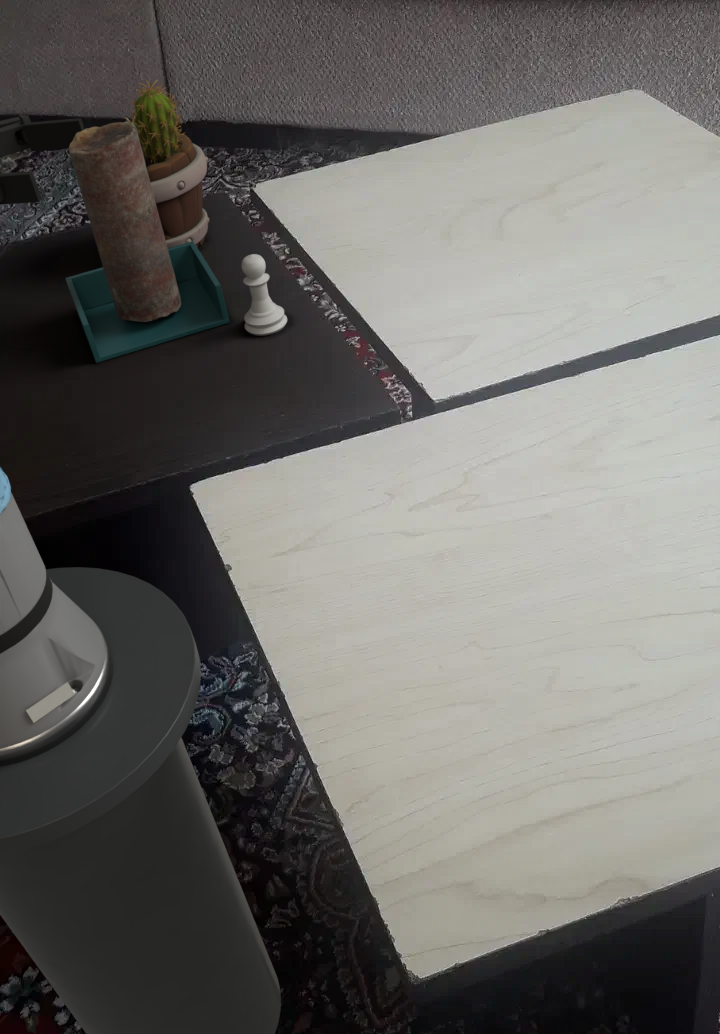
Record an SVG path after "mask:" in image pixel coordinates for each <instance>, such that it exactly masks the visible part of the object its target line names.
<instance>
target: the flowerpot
mask: <svg viewBox="0 0 720 1034" xmlns="http://www.w3.org/2000/svg"><path fill="white" fill-rule="evenodd" d="M150 79H151V74H149V77H148V80H147V79H146V80H145V81H146V85H145V84H144V83H140V82H139V83H138V82H137V84H138V86H139V89H137V88H136V89H134V90H136V92H137V93H138V94H137V95H138V98H136V99H134V98H132V102H130V105H129V106H130V107H129V108H130V109H131V110H129V112H130V113H131V114H129V117H130V119H129V118H128V117H125V116H124V117H122V119H126V120H125V122H132V123H133V124H134V125H135V127H136V129H137V132H138V137H139V141H140V144H141V148H142V152H143V156H144V160H145V164H146V168H147V172H148V175H149V179H150V183H151V187H152V191H153V194H154V199H155V202H156V206H157V210H158V214H159V217H160V221H161V225H162V229H163V232H164V236H165V241H166V244H167V248H171V247H175V246H178V245H182V244H185V243H188V242H192V241H193V242H194V243H195V245H196V246H197V248H198V249H199V247H200V246H202V245H203V244H204V241H205V237H206V235H207V233H208V230H209V229H208V228H209V223H210V218H209V216H208V213H207V211H206V210H205V209H204V208H203V195H204V194H203V180H204V178H205V177H206V174H207V172H208V161H209V157H208V156H206V155H205V152H204V151H203V150H202V148H201V147H200V146H198V145H197V144H195V143H193V142H192V140H191V138H190V137H188V135H186V134H187V132H185V131H184V132H183V133H181V132H182V131H183V130H182V129H183V128H182V125H183V123H182V120H183V119H184V116H181V115H180V111H181V110H180V109H179V107H178V106H177V105H178V104H179V103H180V101H176V100H173V99H174V97H176V94H174V95H173V97H171V96H172V93H171V92H170V93H168V92H166V91H164V90H165V89H167V87H163V88H162V86H163V83H160V85H158V84H159V82H158V81H159V79H156V80H155V81H154V82H152V84H150V81H151V80H150ZM141 85H142V86H141ZM132 106H133V107H132ZM176 109H177V110H176ZM132 110H134V111H132ZM181 118H182V119H181ZM179 124H180V125H179ZM179 128H180V129H179ZM185 133H186V134H185Z"/></svg>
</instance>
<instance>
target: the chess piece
mask: <svg viewBox="0 0 720 1034" xmlns="http://www.w3.org/2000/svg"><path fill="white" fill-rule="evenodd" d="M266 268H267V265H266V261H265V259H264V258H263V256H261V255H260V254H257V253H252V254H248V255H246V256H245V257H244V258H243V259H242V261H241V270H242V273H243V274H244V275H245V277H244V278H243V280H242V282H243V284H245V285H246V286H247V287H248V289H249V293H250V296H251V305H250V308H249V310H248V311H247V312H246V313H245V314H244V316H243V320H244V322H245V323H244V329H245V330H246V331H247V332H248V333H249V334H250V335H253V336H258V337H261V336H263V337H264V336H269V335H270V336H271V335H273V334H276V333H278V332H280V331H281V330H283V329H284V328H285V327H286V324H287V322H288V317H287V315H286V314H285V309H284V308H283V307H282V306H280V305H277V304H276V302H273V300H272V298H271V297H270V294H269V290H268V284H267V283H268V281H269V280H270V275H269V273H267V272H266Z"/></svg>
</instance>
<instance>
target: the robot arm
mask: <svg viewBox="0 0 720 1034" xmlns="http://www.w3.org/2000/svg"><path fill="white" fill-rule="evenodd" d="M17 115H18V116H16V117H11V118H8V119H7V118H6V119H3V120H0V158H3V157H6V156H11V155H12V154H15V153H19V152H21V151H25V150H28V149H29V150H30V151H31V152H41V151H42V152H43V151H44V152H45V151H54V150H67V149H68V150H69V145H70V144H71V142H72V141H73V139H74V137H75V135H76V133H78V132H80V131H82V130H85V129H86V128H85V126H84V123H83V120H82V117H78V118H76V117H75V118H66V119H55V120H42V121H31V119H30V116H29V115H28V114H26V113H24V112H23V113H18V114H17ZM42 198H43V197H42V195H41V192H40V190H39V187H38V184H37V181H36V177H35V175H34V172H33V170H30V171H16V172H4V173H3V172H2V173H0V206H2V205H16V204H30V203H40V201H41V200H42ZM28 528H29V527H28V526H27V523H26V522H25V519H24V517H23V515H22V512H21V510H20V508H19V507H18V504H17V502H16V499H15V498H14V495H13V493H12V486H11V483H10V480H9V477H8V475H7V474H6V473H5V472H4V470H3V468H2V466H0V766H5V765H10V764H14V763H18V762H21V761H24V760H27V759H30V758H32V757H35V756H37V755H40V754H42V753H44V752H46V751H48V750H50V749H52V748H53V747H55V746H57V745H59V744H60V743H62V742H63V741H65V740H66V739H68V738H69V737H70V736H72V735H73V734H74V733H75V732H77V731H78V730H79V729H80V728H81V727H82V726H83V725H84V724H85V723H86V722H87V721H88V720H89V719H90V718H91V717H92V716H93V715H94V713H95V712H96V711H97V709H98V708H99V707H100V705H101V704H102V702H103V700H104V698H105V697H106V694H107V692H108V690H109V687H110V684H111V681H112V676H113V660H112V655H111V652H110V649H109V647H108V645H107V643H106V640H105V638H104V636H103V633H102V632H101V630H100V628H99V627H98V625H97V624H96V623H95V622H94V621H93V620H92V619H91V618H90V617H89V616H88V615H87V614H86V613H85V612H84V611H82V610H81V609H80V608H79V607H78V606H77V605H76V604H75V603H74V602H73V601H72V600H71V599H70V598H69V597H68V596H66V595H65V594H64V593H63V592H62V591H61V590H60V589H59V588H58V587H57V586H56V585H55V584H54V583H53V582H52V581H51V578H50V576H49V574H48V572H47V568H46V565H45V564H44V561H43V558H42V557H41V555H40V553H39V550H38V548H37V546H36V544H35V541H34V539H33V536H32V535H31V533H30V530H29V529H28Z"/></svg>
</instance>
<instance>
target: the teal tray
mask: <svg viewBox="0 0 720 1034" xmlns="http://www.w3.org/2000/svg"><path fill="white" fill-rule="evenodd" d="M168 252H169V255H170V259H171V263H172V266H173V270H174V274H175V278H176V282H177V286H178V290H179V294H180V298H181V302H182V305H181V307H180V308H179V310H178V311H177V312H173V313H171V314H169V315H168V316H165V317H161V318H158V319H155V320H152V321H148V322H138V321H129V320H122V319H121V318H119V317H118V315H117V313H116V309H115V306H114V302H113V299H112V296H111V293H110V289H109V286H108V283H107V279H106V276H105V273H104V269H103V266H102V267H98V268H96V269H92V270H88V271H85V272H82V273H78V274H75V275H70V276H69V277H65V282H66V284H67V287H68V290H69V292H70V296H71V299H72V302H73V304H74V307H75V310H76V313H77V315H78V318H79V321H80V323H81V326H82V330H83V332H84V334H85V336H86V340H87V342H88V345H89V347H90V350H91V354H92V356H93V359H94V360H95V363H96V364H97V363H102V362H104V361H107V360H112V359H114V358H117V357H120V356H124V355H128V354H131V353H134V352H138V351H140V350H143V349H146V348H151V347H154V346H156V345H160V344H164V343H167V342H170V341H174V340H178V339H179V338H184V337H187V336H190V335H194V334H197V333H200V332H203V331H206V330H210V329H213V328H216V327H219V326H223V325H227V324H230V319H229V314H228V310H227V306H226V302H225V297H224V294H223V290H222V285H221V283H220V282H219V280H218V279H217V277H216V275H215V274H214V272H213V271H212V269H211V267H210V265H209V264H208V262H207V261H206V259H205V257H204V255H202V253H201V251H200V249H199V247H198V248H197V246H196V245H195V243H194V242H193V241H192V242H188V243H185V244H182V245H178V246H175V247H171V248H168Z"/></svg>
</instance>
